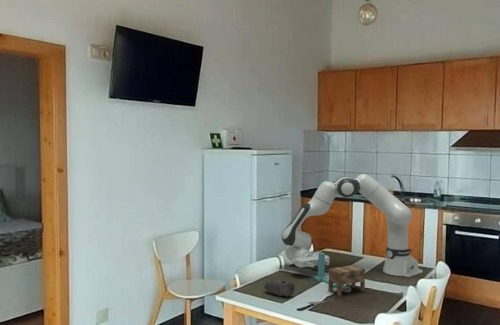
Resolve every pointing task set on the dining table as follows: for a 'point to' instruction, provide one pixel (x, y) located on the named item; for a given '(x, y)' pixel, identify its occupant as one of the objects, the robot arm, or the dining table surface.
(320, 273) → the teal post stand
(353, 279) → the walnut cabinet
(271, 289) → the perforated stone tool
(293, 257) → the robot arm
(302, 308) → the cleaver
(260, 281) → the dining table surface
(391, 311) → the dining table surface
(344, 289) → the metal token
